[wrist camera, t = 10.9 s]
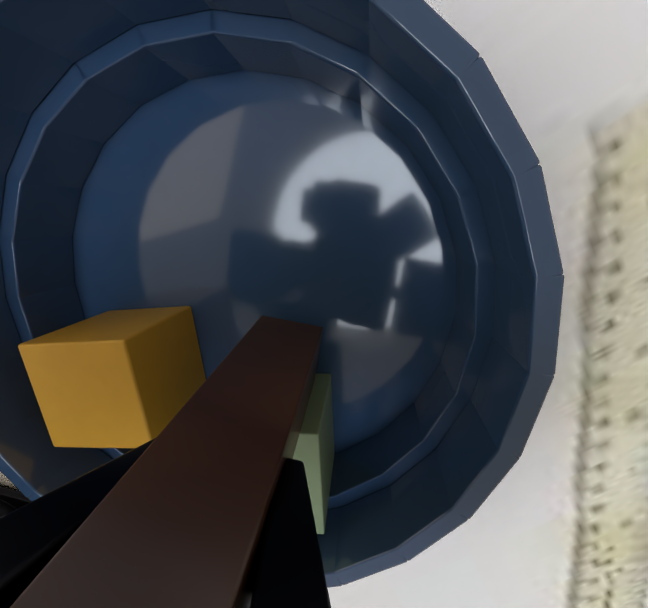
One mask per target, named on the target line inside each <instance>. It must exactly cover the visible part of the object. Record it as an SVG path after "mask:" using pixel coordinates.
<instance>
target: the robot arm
mask: <svg viewBox="0 0 648 608" xmlns="http://www.w3.org/2000/svg"><path fill="white" fill-rule="evenodd" d="M154 440H155V438H154V439H152V440H150V441H148V442H146V443H144V444H142V445H141V446H139V447H137V448H135V449H133V450H131V451H129V452H127V453H125V454H123V455H121V456H119V457H117V458H115V459H113V460H111V461H109V462H108V463H106V464H104V465H102V466H100V467H98V468H96V469H94V470H92V471H90V472H88V473H86V474H84V475H82V476H80V477H78V478H76V479H75V480H73V481H71V482H69V483H67V484H65V485H63V486H61V487H59V488H57V489H55V490H53V491H51V492H49V493H47V494H45V495H43V496H41V497H40V498H38V499H36V500H34V501H32V502H31V501H30V500H29V497H28V498H27V497H25V496H24V495H23V493H22V492H19V491H15V490H12V489H8V488H4V487H1V486H0V608H10V606H11V605H12V604H13V603H14V602H15V601H16V599H17V598H18V597H19V596H20V595H21V594H22V593H23V591H24V590H25V589H26V588H27V587H28V586H29V584H30V583H31V582H32V581H33V580H34V579H35V577H36V576H37V575H38V574H39V573H40V572H41V571H42V569H43V568H44V567H45V566H46V565H47V564H48V562H49V561H50V560H51V559H52V558H53V557H54V555H55V554H56V553H57V552H58V551H59V550H60V549H61V547H62V546H63V545H64V544H65V543H66V542H67V540H68V539H69V538H70V537H71V536H72V535H73V533H74V532H75V531H76V530H77V529H78V528H79V527H80V525H81V524H82V523H83V522H84V521H85V520H86V518H87V517H88V516H89V515H90V514H91V513H92V511H93V510H94V509H95V508H96V507H97V506H98V504H99V503H100V502H101V501H102V500H103V499H104V498H105V496H106V495H107V494H108V493H109V492H110V491H111V489H112V488H113V487H114V486H115V485H116V484H117V482H118V481H119V480H120V479H121V478H122V477H123V476H124V474H125V473H126V472H127V471H128V470H129V469H130V467H131V466H132V465H133V464H134V463H135V462H136V460H137V459H138V458H139V457H140V456H141V455H142V454H143V452H144V451H145V450H146V449H147V448H148V447H149V445H150V444H151V443H152V442H153V441H154ZM250 608H331V605H330V600H329V594H328V589H327V584H326V578H325V573H324V568H323V563H322V557H321V552H320V547H319V541H318V536H317V531H316V526H315V520H314V515H313V510H312V504H311V499H310V494H309V488H308V483H307V478H306V473H305V467H304V463H303V462H302V461H300V460H296V459H292V458H286V460H285V463H284V466H283V469H282V471H281V474H280V477H279V480H278V483H277V486H276V489H275V491H274V494H273V497H272V500H271V503H270V506H269V509H268V512H267V516H266V521H265V526H264V532H263V537H262V543H261V548H260V554H259V560H258V565H257V571H256V576H255V582H254V587H253V593H252V598H251V604H250Z"/></svg>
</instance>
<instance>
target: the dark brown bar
mask: <svg viewBox="0 0 648 608" xmlns="http://www.w3.org/2000/svg"><path fill="white" fill-rule="evenodd" d="M322 332H323V327H320V326H315V325H310V324H305V323H300V322H294V321H289V320H284V319H279V318H273V317H268V316H261V317H260V318H259V319H258V320H257V321H256V323H255V324H254V325H253V326H252V327H251V328H250V330H249V331H248V332H247V333H246V334H245V335H244V336H243V338H242V339H241V340H240V341H239V342H238V343H237V345H236V346H235V347H234V348H233V349H232V350H231V352H230V353H229V354H228V355H227V356H226V357H225V359H224V360H223V361H222V362H221V363H220V364H219V365H218V367H217V368H216V369H215V370H214V371H213V372H212V374H211V375H210V376H209V377H208V378H207V379H206V381H205V382H204V383H203V384H202V385H201V386H200V387H199V389H198V390H197V391H196V392H195V393H194V394H193V396H192V397H191V398H190V399H189V400H188V401H187V403H186V404H185V405H184V406H183V407H182V408H181V409H180V411H179V412H178V413H177V414H176V415H175V416H174V418H173V419H172V420H171V421H170V422H169V423H168V425H167V426H166V427H165V428H164V429H163V430H162V431H161V433H160V434H159V435H158V436H157V437H156V438H155V440H154V441H153V442H152V443H151V444H150V445H149V447H148V448H147V449H146V450H145V451H144V452H143V454H142V455H141V456H140V457H139V458H138V459H137V460H136V462H135V463H134V464H133V465H132V466H131V467H130V469H129V470H128V471H127V472H126V473H125V474H124V476H123V477H122V478H121V479H120V480H119V481H118V482H117V484H116V485H115V486H114V487H113V488H112V489H111V491H110V492H109V493H108V494H107V495H106V496H105V498H104V499H103V500H102V501H101V502H100V503H99V504H98V506H97V507H96V508H95V509H94V510H93V511H92V513H91V514H90V515H89V516H88V517H87V518H86V520H85V521H84V522H83V523H82V524H81V525H80V527H79V528H78V529H77V530H76V531H75V532H74V533H73V535H72V536H71V537H70V538H69V539H68V540H67V542H66V543H65V544H64V545H63V546H62V547H61V549H60V550H59V551H58V552H57V553H56V554H55V555H54V557H53V558H52V559H51V560H50V561H49V562H48V564H47V565H46V566H45V567H44V568H43V569H42V571H41V572H40V573H39V574H38V575H37V576H36V577H35V579H34V580H33V581H32V582H31V583H30V584H29V586H28V587H27V588H26V589H25V590H24V591H23V593H22V594H21V595H20V596H19V597H18V598H17V599H16V601H15V602H14V603H13V604H12V605H11V606H10V608H250V604H251V598H252V593H253V587H254V582H255V576H256V571H257V565H258V560H259V554H260V548H261V543H262V537H263V532H264V526H265V521H266V516H267V512H268V509H269V506H270V503H271V500H272V497H273V494H274V491H275V489H276V486H277V483H278V480H279V477H280V474H281V471H282V469H283V466H284V463H285V460H286V458H292V459H293V456H294V452H295V449H296V445H297V442H298V438H299V434H300V431H301V427H302V424H303V420H304V416H305V413H306V409H307V406H308V402H309V398H310V395H311V391H312V388H313V384H314V380H315V374H316V368H317V362H318V356H319V350H320V344H321V338H322Z"/></svg>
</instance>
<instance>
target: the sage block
mask: <svg viewBox="0 0 648 608" xmlns="http://www.w3.org/2000/svg"><path fill="white" fill-rule="evenodd" d="M334 453H335V450H334V428H333V405H332V383H331V374H315V380H314V384H313V388H312V391H311V395H310V398H309V402H308V406H307V409H306V413H305V416H304V420H303V424H302V427H301V431H300V434H299V438H298V442H297V445H296V449H295V452H294V456H293V459H296V460H300V461H302V462H303V463H304V467H305V473H306V478H307V483H308V488H309V494H310V499H311V504H312V510H313V515H314V520H315V526H316V531H317V534H324V533H325V526H326V518H327V510H328V502H329V494H330V486H331V478H332V470H333V461H334Z"/></svg>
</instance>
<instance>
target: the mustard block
mask: <svg viewBox="0 0 648 608" xmlns="http://www.w3.org/2000/svg"><path fill="white" fill-rule="evenodd" d="M18 348H19V351H20V354H21V357H22V360H23V362H24V365H25V368H26V371H27V373H28V376H29V379H30V382H31V385H32V387H33V390H34V393H35V396H36V399H37V401H38V404H39V407H40V410H41V412H42V415H43V418H44V421H45V424H46V426H47V429H48V432H49V435H50V437H51V440H52V443H53V446H54V447H84V448H137V447H139V446H141V445H142V444H144V443H146V442H148V441H150V440H152V439H154V438H156V437H157V436H158V435H159V434H160V433H161V431H162V430H163V429H164V428H165V427H166V426H167V425H168V423H169V422H170V421H171V420H172V419H173V418H174V416H175V415H176V414H177V413H178V412H179V411H180V409H181V408H182V407H183V406H184V405H185V404H186V403H187V401H188V400H189V399H190V398H191V397H192V396H193V394H194V393H195V392H196V391H197V390H198V389H199V387H200V386H201V385H202V384H203V383H204V382H205V381H206V377H205V372H204V368H203V363H202V358H201V353H200V348H199V344H198V339H197V334H196V329H195V324H194V319H193V315H192V310H191V307H190V306H179V307H162V308H145V309H129V310H112V311H107V312H104V313H101V314H99V315H96V316H93V317H91V318H88V319H85V320H83V321H80V322H77V323H75V324H72V325H69V326H67V327H64V328H61V329H59V330H56V331H53V332H50V333H48V334H45V335H42V336H40V337H37V338H34V339H32V340H29V341H26V342H24V343H21V344H19V345H18Z"/></svg>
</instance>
